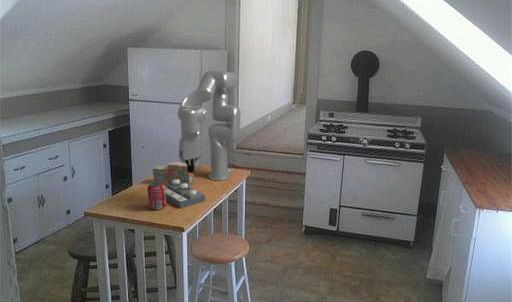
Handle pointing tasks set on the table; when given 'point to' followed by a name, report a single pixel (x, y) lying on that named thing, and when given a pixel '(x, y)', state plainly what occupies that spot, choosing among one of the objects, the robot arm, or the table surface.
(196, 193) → the button
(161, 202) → the beverage can
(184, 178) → the stack of blocks
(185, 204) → the button board
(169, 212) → the table surface
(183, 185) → the button middle
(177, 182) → the button
